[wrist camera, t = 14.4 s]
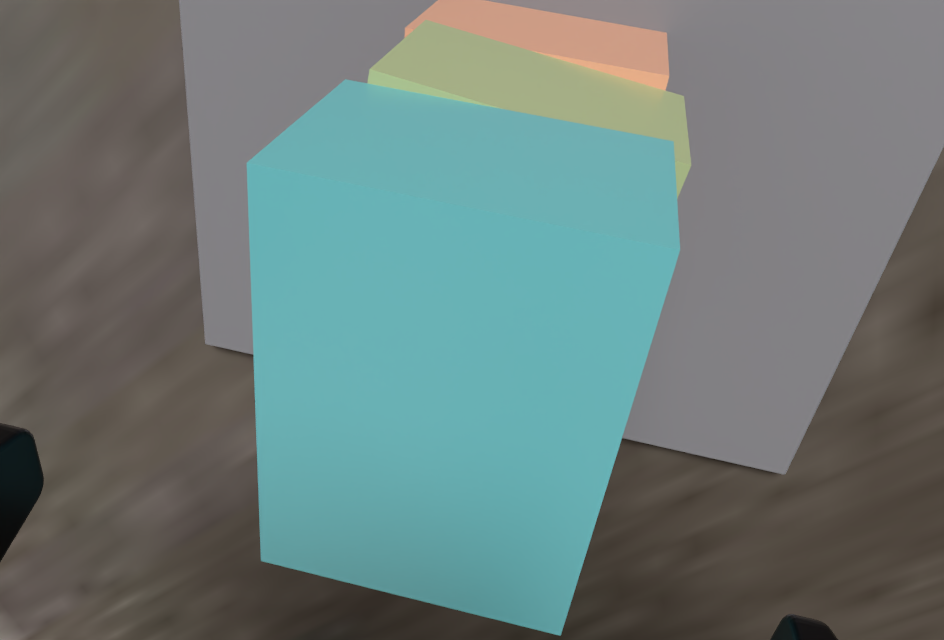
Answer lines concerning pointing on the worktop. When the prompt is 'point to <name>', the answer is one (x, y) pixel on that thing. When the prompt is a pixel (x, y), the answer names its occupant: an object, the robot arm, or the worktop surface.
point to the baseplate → (700, 200)
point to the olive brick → (531, 85)
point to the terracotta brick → (561, 37)
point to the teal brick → (449, 341)
